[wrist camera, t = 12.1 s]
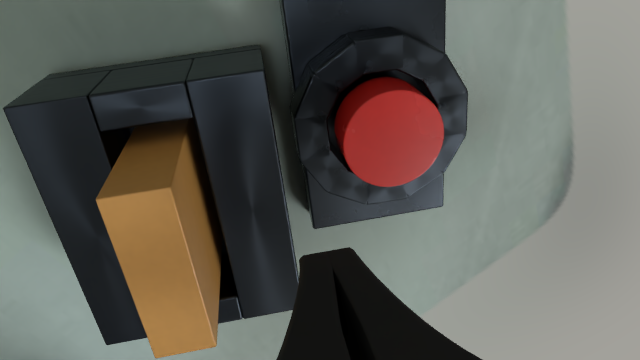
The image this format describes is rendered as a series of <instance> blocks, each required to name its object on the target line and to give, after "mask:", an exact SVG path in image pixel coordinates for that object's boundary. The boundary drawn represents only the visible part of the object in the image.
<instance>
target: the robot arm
mask: <svg viewBox="0 0 640 360" xmlns="http://www.w3.org/2000/svg"><path fill="white" fill-rule="evenodd" d="M299 263H300V275H299V283H298V290H297V295H296V299H295V304H294V308H293V312H292V316H291V319H290V323H289V326H288V329H287V332H286V335H285V339H284V341H283V344H282V347H281V350H280V352H279V355H278V357H277V360H482V359H480V358H478V357H477V356H475V355H473V354H472V353H470V352H468V351H466V350H465V349H463V348H461V347H460V346H459V345H457V344H456V343H454V342H452V341H451V340H450V339H448V338H447V337H445V336H444V335H443V334H441V333H440V332H438V331H437V330H435V329H434V328H433V327H431V326H430V325H429V324H428V323H426V322H425V321H424V320H422V319H421V318H420V317H419V316H418V315H417V314H415V313H414V312H413V311H412V310H411V309H410V308H408V307H407V306H406V305H405V304H404V303H403V302H402V301H400V300H399V299H398V298H397V297H396V296H395V295H394V294H393V293H392V292H391V291H390V290H389V289H388V288H387V287H386V286H385V285H384V284H383V283H382V282H381V281H380V280H379V279H378V278H377V277H376V276H375V275H374V274H373V273H372V271H371V270H370V269H369V268H368V267H367V266H366V265H365V264H364V262H363V261H362V260H361V259H360V258H359V256H358V255H357V254H356V252H355V251H354V250H353V249H351V248H350V247H349V248H343V249H337V250H332V251H326V252H320V253H315V254H309V255H303V256H302V257H301V258H300V260H299Z"/></svg>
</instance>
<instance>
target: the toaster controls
mask: <svg viewBox="0 0 640 360" xmlns="http://www.w3.org/2000/svg"><path fill="white" fill-rule="evenodd" d="M280 7H281V14H282V21H283V28H284V35H285V42H286V50H287V57H288V64H289V71H290V78H291V85H292V92H293V99H292V101H291V105H290V110H291V117H292V124H293V131H294V138H295V145H296V148H297V152H298V156H299V160H300V162H301V164H302V165H303V171H304V178H305V185H306V192H307V199H308V206H309V213H310V217H311V221H312V225H313V228H314V229H317V228H323V227H329V226H334V225H340V224H346V223H351V222H357V221H363V220H368V219H374V218H380V217H385V216H391V215H397V214H402V213H408V212H414V211H420V210H425V209H431V208H437V207H442V206H443V181H444V172H445V171H446V169H447V167H448V166H449V164H450V162H451V160H452V159H453V157H454V155H455V154H456V152H457V150H458V148H459V147H460V145H461V143H462V141H463V140H464V138H465V136H466V130H467V102H468V92H467V88H466V87H465V85H464V83H463V82H462V80H461V78H460V76H459V75H458V73H457V71H456V70H455V68H454V66H453V65H452V63H451V61H450V60H449V58H448V56H447V54H445V11H446V0H280ZM378 77H395V78H399V79H402V80H404V81H406V82H408V83H410V84H411V85H413V86H414V87H415V88H416V89H418V90H419V91H420V92H421V93H422V94H423V95H425V96H426V97H427V98H428V99H429V100H430V101H431V102H432V103H433V104H434V105H435V106H436V108H437V109H438V111H439V113H440V115H441V117H442V120H443V125H444V139H443V144H442V147H441V150H440V152H439V154H438V156H437V158H436V160H435V161H434V163H433V164H432V165H431V166H430V168H429V169H428V170H427V171H426V172H424V173H423V174H422V175H421V176H419V177H418V178H416V179H414V180H412V181H410V182H408V183H405V184H403V185H398V186H392V187H382V186H376V185H372V184H369V183H367V182H365V181H363V180H362V179H360V178H359V177H357V176H356V175H355V174H354V173H353V172H352V170H351V169H350V168H349V166H348V164H347V162H346V160H345V158H344V156H343V154H342V152H341V150H340V147H339V145H338V143H337V140H336V137H335V131H334V124H335V117H336V113H337V111H338V108H339V106H340V104H341V102H342V101H343V99H344V98H345V97H346V96H347V94H348V93H349V92H350V91H351V90H353V89H354V88H355V87H356V86H358V85H359V84H361V83H363V82H365V81H367V80H370V79H373V78H378Z"/></svg>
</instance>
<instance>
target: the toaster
mask: <svg viewBox="0 0 640 360" xmlns="http://www.w3.org/2000/svg"><path fill="white" fill-rule="evenodd" d="M3 110H4V112H5V114H6V117H7V119H8V121H9V124H10V126H11V128H12V130H13V133H14V135H15V137H16V140H17V142H18V144H19V146H20V149H21V151H22V153H23V156H24V158H25V160H26V162H27V165H28V167H29V169H30V172H31V174H32V176H33V178H34V181H35V183H36V185H37V188H38V190H39V192H40V194H41V197H42V199H43V201H44V204H45V206H46V208H47V210H48V213H49V215H50V217H51V220H52V222H53V224H54V226H55V229H56V231H57V233H58V236H59V238H60V240H61V242H62V245H63V247H64V249H65V252H66V254H67V256H68V258H69V261H70V263H71V265H72V268H73V270H74V272H75V275H76V277H77V279H78V281H79V284H80V286H81V288H82V291H83V293H84V295H85V297H86V300H87V302H88V304H89V307H90V309H91V311H92V313H93V316H94V318H95V320H96V323H97V325H98V327H99V329H100V332H101V334H102V336H103V339H104V341H105V343H106V345H110V344H116V343H121V342H126V341H132V340H137V339H142V338H147V335H146V332H145V329H144V327H143V324H142V321H141V319H140V316H139V314H138V311H137V308H136V306H135V303H134V300H133V298H132V295H131V292H130V290H129V287H128V284H127V282H126V279H125V277H124V274H123V271H122V269H121V266H120V263H119V261H118V258H117V255H116V253H115V250H114V247H113V245H112V242H111V239H110V237H109V234H108V232H107V229H106V226H105V224H104V221H103V218H102V216H101V213H100V210H99V208H98V205H97V202H96V198H97V196H98V194H99V192H100V190H101V189H102V187H103V185H104V183H105V181H106V179H107V178H108V176H109V174H110V172H111V170H112V168H113V167H114V165H115V163H116V161H117V159H118V157H119V156H120V154H121V152H122V150H123V148H124V146H125V145H126V143H127V141H128V139H129V137H130V135H131V134H132V132H133V130H134V128H135V127H137V126H143V125H150V124H156V123H163V122H169V121H176V120H182V119H189V118H192V117H193V119H194V123H195V127H196V131H197V135H198V139H199V143H200V147H201V151H202V155H203V159H204V164H205V168H206V172H207V176H208V180H209V184H210V188H211V192H212V196H213V200H214V204H215V208H216V212H217V216H218V220H219V225H220V229H221V233H222V237H223V239H222V257H221V275H220V293H219V311H218V324H219V323H224V322H229V321H235V320H240V319H242V318H244V319H246V318H252V317H257V316H262V315H268V314H273V313H278V312H283V311H289V310H293V308H294V304H295V299H296V295H297V290H298V283H299V276H298V270H297V264H296V258H295V252H294V246H293V240H292V234H291V228H290V221H289V215H288V209H287V203H286V197H285V191H284V185H283V179H282V173H281V167H280V161H279V155H278V149H277V142H276V136H275V130H274V124H273V118H272V112H271V106H270V100H269V94H268V88H267V82H266V76H265V70H264V65H263V59H262V54H261V49H260V45H254V46H247V47H240V48H233V49H226V50H219V51H212V52H205V53H198V54H191V55H184V56H177V57H169V58H162V59H155V60H148V61H141V62H134V63H127V64H120V65H113V66H106V67H99V68H92V69H85V70H78V71H71V72H64V73H57V74H50V75H48V76H47V77H45V78H44V79H43V80H41V81H40V82H38V83H37V84H35V85H34V86H33V87H31V88H30V89H29V90H27V91H26V92H24V93H23V94H22V95H20V96H19V97H18V98H16V99H15V100H13V101H12V102H11V103H9V104H8V105H6V106H5V107H4V108H3Z"/></svg>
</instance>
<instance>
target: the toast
mask: <svg viewBox="0 0 640 360" xmlns="http://www.w3.org/2000/svg"><path fill="white" fill-rule="evenodd" d="M96 202H97V205H98V208H99V210H100V213H101V216H102V218H103V221H104V224H105V226H106V229H107V232H108V234H109V237H110V239H111V242H112V245H113V247H114V250H115V253H116V255H117V258H118V261H119V263H120V266H121V269H122V271H123V274H124V277H125V279H126V282H127V284H128V287H129V290H130V292H131V295H132V298H133V300H134V303H135V306H136V308H137V311H138V314H139V316H140V319H141V321H142V324H143V327H144V329H145V332H146V335H147V337H148V340H149V343H150V345H151V348H152V351H153V353H154V356H155V358H160V357H165V356H170V355H175V354H181V353H186V352H191V351H196V350H201V349H206V348H212V347H216V345H217V329H218V311H219V293H220V275H221V257H222V239H223V237H222V233H221V229H220V225H219V220H218V216H217V212H216V208H215V204H214V200H213V196H212V192H211V188H210V184H209V180H208V176H207V172H206V168H205V164H204V159H203V155H202V151H201V147H200V143H199V139H198V135H197V131H196V127H195V123H194V119H193V117H192V118H189V119H182V120H176V121H169V122H163V123H156V124H150V125H143V126H137V127H135V128H134V130H133V132H132V134H131V135H130V137H129V139H128V141H127V143H126V145H125V146H124V148H123V150H122V152H121V154H120V156H119V157H118V159H117V161H116V163H115V165H114V167H113V168H112V170H111V172H110V174H109V176H108V178H107V179H106V181H105V183H104V185H103V187H102V189H101V190H100V192H99V194H98V196H97V198H96Z"/></svg>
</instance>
